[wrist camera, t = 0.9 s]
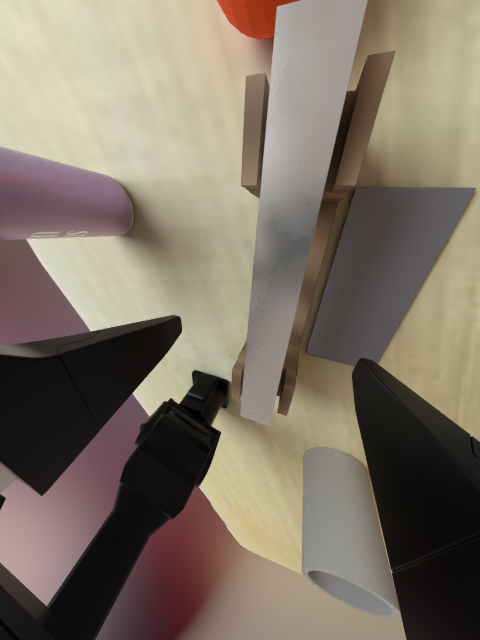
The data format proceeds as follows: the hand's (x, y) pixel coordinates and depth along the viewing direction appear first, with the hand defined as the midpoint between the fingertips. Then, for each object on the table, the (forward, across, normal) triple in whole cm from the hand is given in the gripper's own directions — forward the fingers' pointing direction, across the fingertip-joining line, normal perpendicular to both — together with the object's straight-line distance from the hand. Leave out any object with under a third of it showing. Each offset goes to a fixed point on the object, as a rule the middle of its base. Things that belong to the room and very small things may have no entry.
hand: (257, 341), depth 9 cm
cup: (+12, -13, +29) cm, 34 cm away
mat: (+12, -8, 0) cm, 14 cm away
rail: (+6, 0, 0) cm, 7 cm away
